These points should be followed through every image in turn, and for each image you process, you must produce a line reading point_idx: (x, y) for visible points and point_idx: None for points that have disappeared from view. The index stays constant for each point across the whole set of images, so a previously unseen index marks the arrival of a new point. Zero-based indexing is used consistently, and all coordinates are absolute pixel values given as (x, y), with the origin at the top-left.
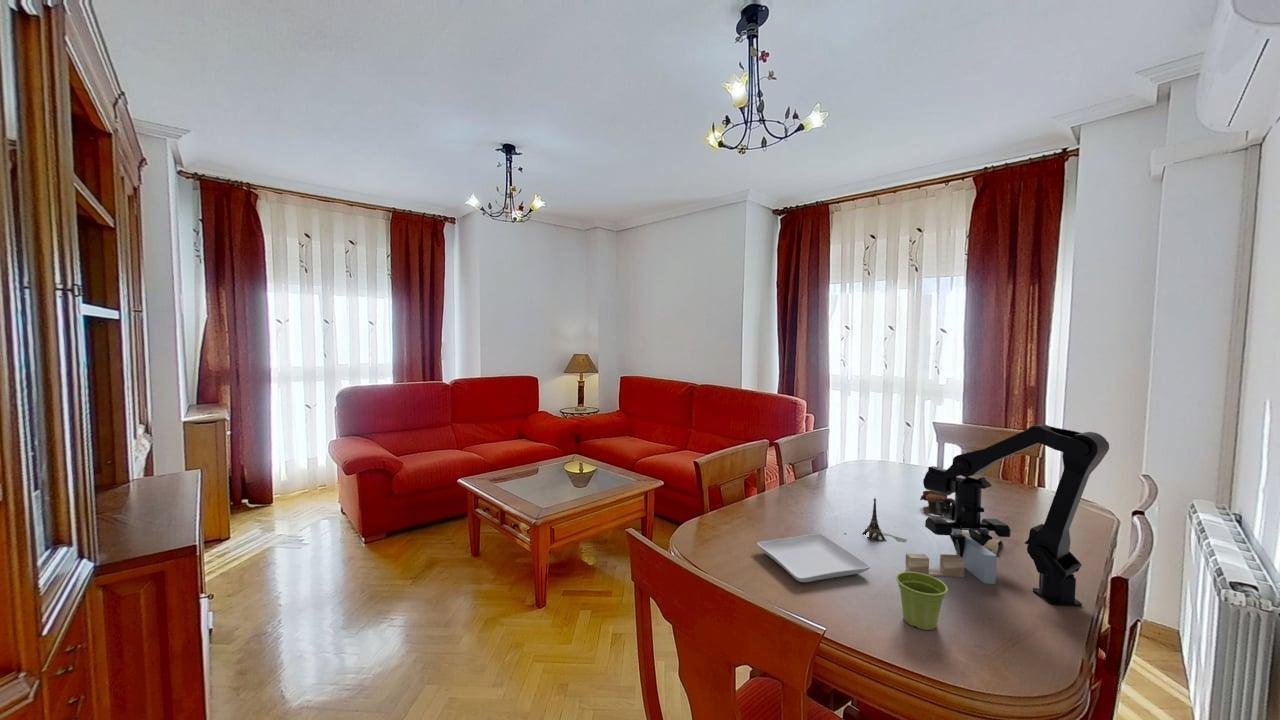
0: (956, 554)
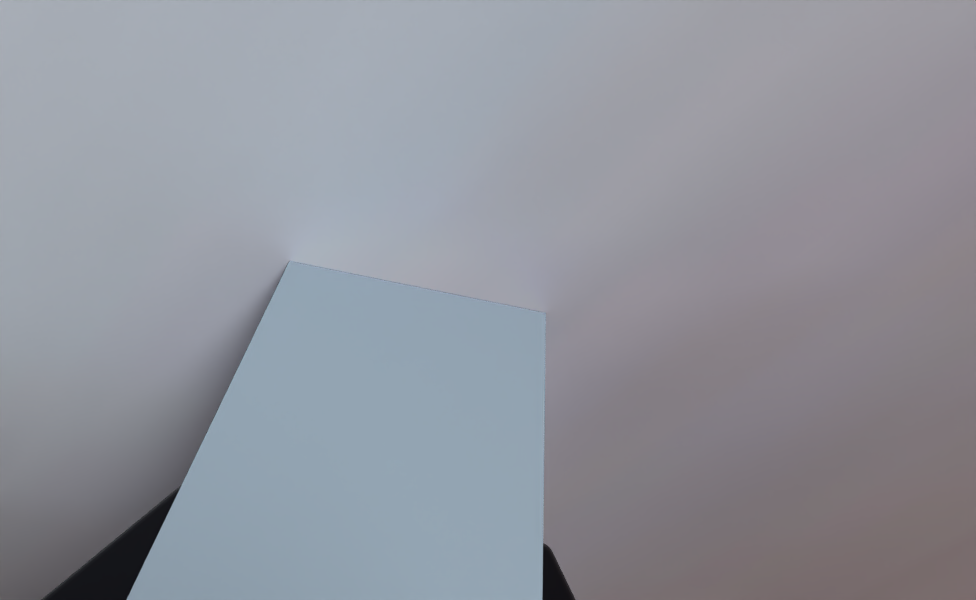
0: (239, 365)
